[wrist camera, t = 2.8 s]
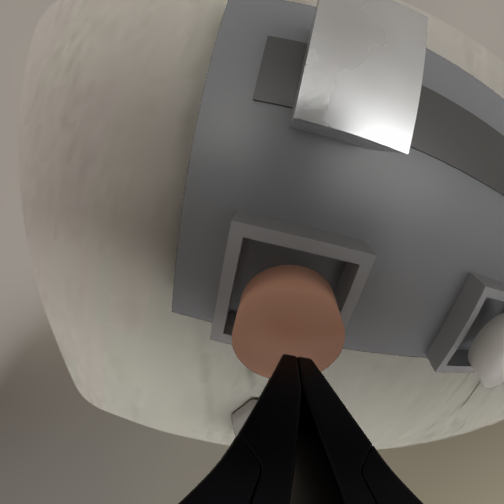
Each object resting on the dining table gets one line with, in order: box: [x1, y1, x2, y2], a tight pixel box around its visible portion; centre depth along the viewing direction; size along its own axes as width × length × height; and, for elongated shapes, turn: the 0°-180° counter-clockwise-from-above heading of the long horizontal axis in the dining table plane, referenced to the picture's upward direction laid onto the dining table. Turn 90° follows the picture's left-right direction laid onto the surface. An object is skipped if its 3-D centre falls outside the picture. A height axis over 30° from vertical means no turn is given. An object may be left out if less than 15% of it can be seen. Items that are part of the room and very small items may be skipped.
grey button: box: [468, 313, 504, 389], centre depth 9 cm, size 4×4×2 cm
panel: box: [172, 0, 504, 372], centre depth 11 cm, size 22×15×4 cm
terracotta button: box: [232, 265, 345, 378], centre depth 9 cm, size 4×4×2 cm
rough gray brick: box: [289, 0, 428, 154], centre depth 7 cm, size 3×4×4 cm
